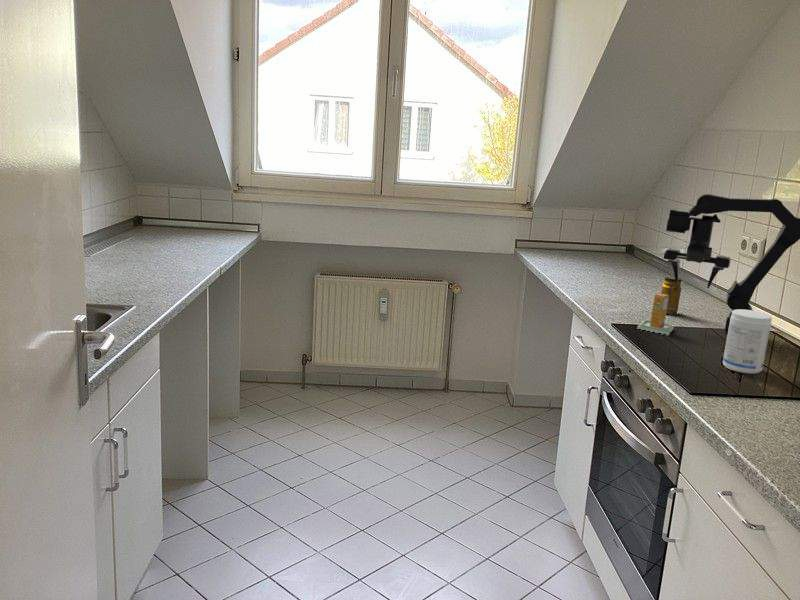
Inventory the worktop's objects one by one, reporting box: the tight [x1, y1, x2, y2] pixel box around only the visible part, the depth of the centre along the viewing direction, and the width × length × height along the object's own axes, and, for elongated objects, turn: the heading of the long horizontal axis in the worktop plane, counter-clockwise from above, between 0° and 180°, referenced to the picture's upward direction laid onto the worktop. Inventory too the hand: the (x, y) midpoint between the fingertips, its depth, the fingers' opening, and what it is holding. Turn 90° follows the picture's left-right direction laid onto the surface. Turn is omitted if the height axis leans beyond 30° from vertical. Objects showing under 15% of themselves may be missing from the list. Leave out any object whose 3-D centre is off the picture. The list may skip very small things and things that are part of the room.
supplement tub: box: [722, 309, 773, 375], centre depth 192 cm, size 10×10×15 cm
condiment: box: [661, 276, 687, 317], centre depth 251 cm, size 7×8×12 cm
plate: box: [636, 319, 675, 336], centre depth 227 cm, size 9×9×2 cm
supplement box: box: [649, 292, 669, 328], centre depth 226 cm, size 3×3×10 cm
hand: (692, 285), depth 232 cm, fingers open, 9 cm apart
